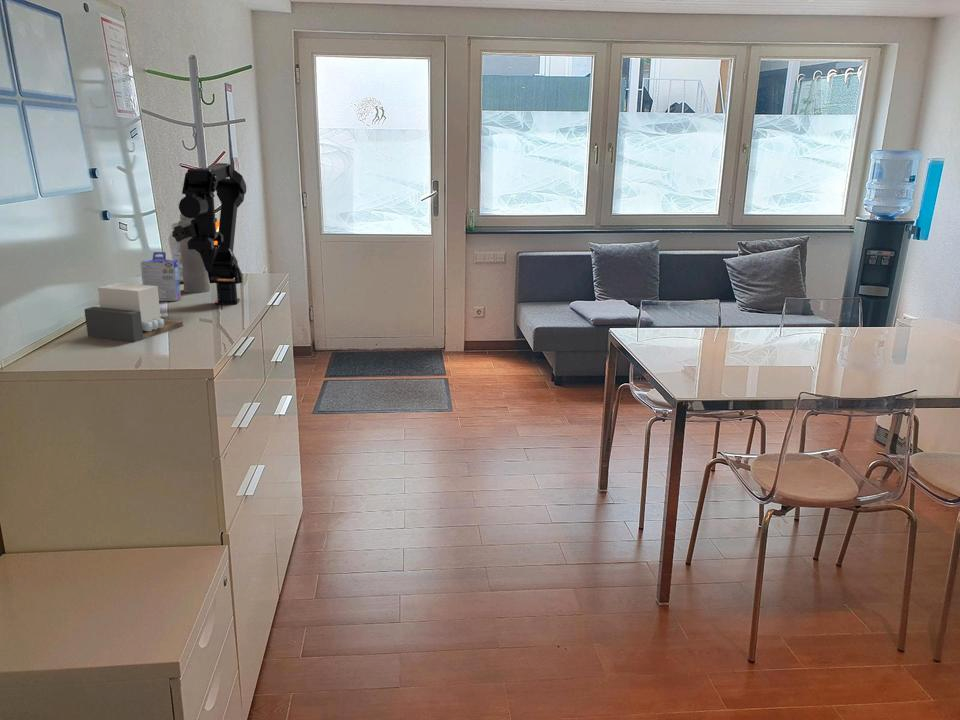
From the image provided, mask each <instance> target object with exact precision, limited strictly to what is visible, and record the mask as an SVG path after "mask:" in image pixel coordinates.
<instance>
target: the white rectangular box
mask: <svg viewBox="0 0 960 720" xmlns="http://www.w3.org/2000/svg"><path fill="white" fill-rule="evenodd" d="M97 292H98V300H99V307H102V308H112V309H122V310H132V311H140V312H141V322H142V331H152V330H153V329H154V330H156V329H157V328H162V327H163V326H164V320H165V319H163V318H161V308H160V307H161V306H160V301H159V296H158V286H150V285H143V284H136V283H127V282H126V283H124V282H115V283H110V284H108V285H103V286H102V285H101V286H98V287H97Z"/></svg>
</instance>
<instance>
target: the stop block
mask: <svg viewBox="0 0 960 720" xmlns="http://www.w3.org/2000/svg"><path fill="white" fill-rule="evenodd" d="M83 309H84V318H85V325H86V332H87V333H86V334H87V337H88V338H96V339H97V338H98V339H105V340H106V339H107V340H115V341H123V342H124V341H125V342H132V343H136V342H139V341H141V340H144V339H143V331H142V322H141V312H140V311H132V310H122V309H112V308H102V307H100V306H99V307H98V306H92V307H91V306H90V307H88V308H83Z"/></svg>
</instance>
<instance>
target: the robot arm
mask: <svg viewBox="0 0 960 720" xmlns="http://www.w3.org/2000/svg"><path fill="white" fill-rule="evenodd" d="M215 192H216V196H217V198H218V200H219V202H220V205H221V206H220V213H219V214H220V215H219V221H220V222H219V231H218V232H216V222H217V221H218V218H217V217H216V210H215V199H214V198H215ZM246 193H247V184H246V182H245V179H244V177H243V175H242V174H241V173H239V172H238V171H236V170H235V169H234V167H233V165H232V164H231V163H228V162H227V163H225V162H224V163H223V162H222V163H221V162H217V163H214V164H213V165H211V166H207V167H205V168H203V167H202V168H199V167H198V168H197V167H196V168H194V167H193V168H192V167H191V168H187V172H186V173H185V175H184V179H183V185H182V190H181V194H182V195H184V197H182V198H181V199H180V201H179V204H178V210H179V213H180V214H182V215H183V216H185V217H187V218H193V219H192V220H191V225H188V226H185V227H182V226H181V225H179V226H176V227H174V231H173V230H172V231H171V233H173V235H172V236H173V237H175V239H176V241H177V242H179V241H181V240H183V239H186V238H188V237H191V236H192V238H191V239H190V240H189V241H188V242H187V245H188V249H194V250H196V251H198V252H199V253H200V255H201V258H202V260H203V263H204V266H205V269H206V271H207V272H208V277H209V281H210V284H216V297H217V299H216V301H214V305H237V304H238V303H239V302H240V301H241V298H238V290H237V289H238V288H237V284H242V283H243V272H242V271H241V269H240V266H239V264H238V261H239V260H238V259H237V258H236V256H235V254H234V244H235V236H236V234H235V233H236V225H237V215H238V214H237V213H238V208H239V207H240V206H241V204H242V203H244V201H245V195H246ZM214 241H217V245H214Z"/></svg>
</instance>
